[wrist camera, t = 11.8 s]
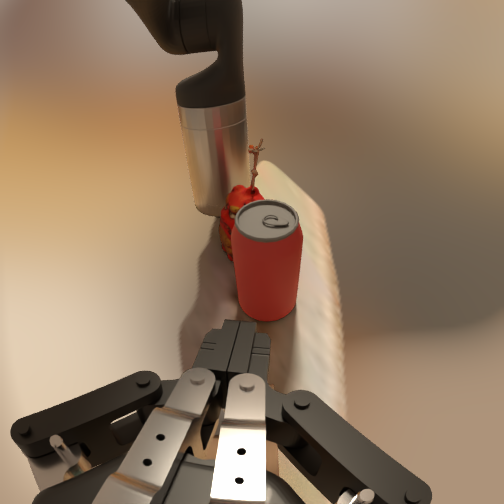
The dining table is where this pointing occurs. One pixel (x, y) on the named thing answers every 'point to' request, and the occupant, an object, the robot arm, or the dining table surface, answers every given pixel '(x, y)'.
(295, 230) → the beer can
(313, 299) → the dining table surface
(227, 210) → the red clay folk toy
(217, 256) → the dining table surface
